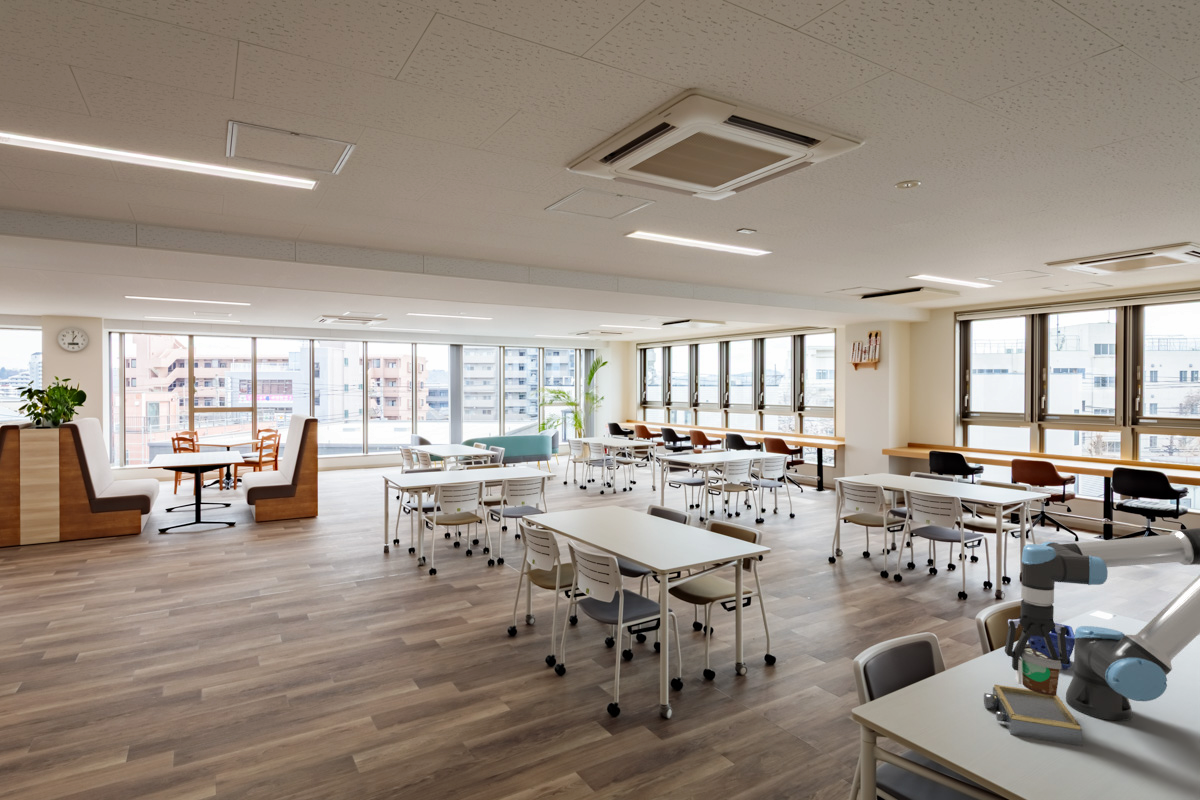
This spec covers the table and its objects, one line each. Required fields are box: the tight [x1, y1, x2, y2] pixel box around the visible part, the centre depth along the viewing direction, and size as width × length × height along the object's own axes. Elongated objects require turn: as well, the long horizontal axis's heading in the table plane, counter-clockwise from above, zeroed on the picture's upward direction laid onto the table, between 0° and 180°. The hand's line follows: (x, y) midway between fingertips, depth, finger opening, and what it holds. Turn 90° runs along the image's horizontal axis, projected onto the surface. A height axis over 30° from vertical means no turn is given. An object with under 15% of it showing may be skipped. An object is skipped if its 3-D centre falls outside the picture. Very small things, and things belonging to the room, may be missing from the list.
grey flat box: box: [983, 684, 1083, 747], centre depth 180 cm, size 19×20×5 cm
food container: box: [1020, 643, 1063, 696], centre depth 180 cm, size 12×6×10 cm, turn 3°
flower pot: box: [1027, 622, 1075, 670], centre depth 220 cm, size 13×13×12 cm
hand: (1034, 684), depth 180 cm, fingers closed on food container, 7 cm apart
